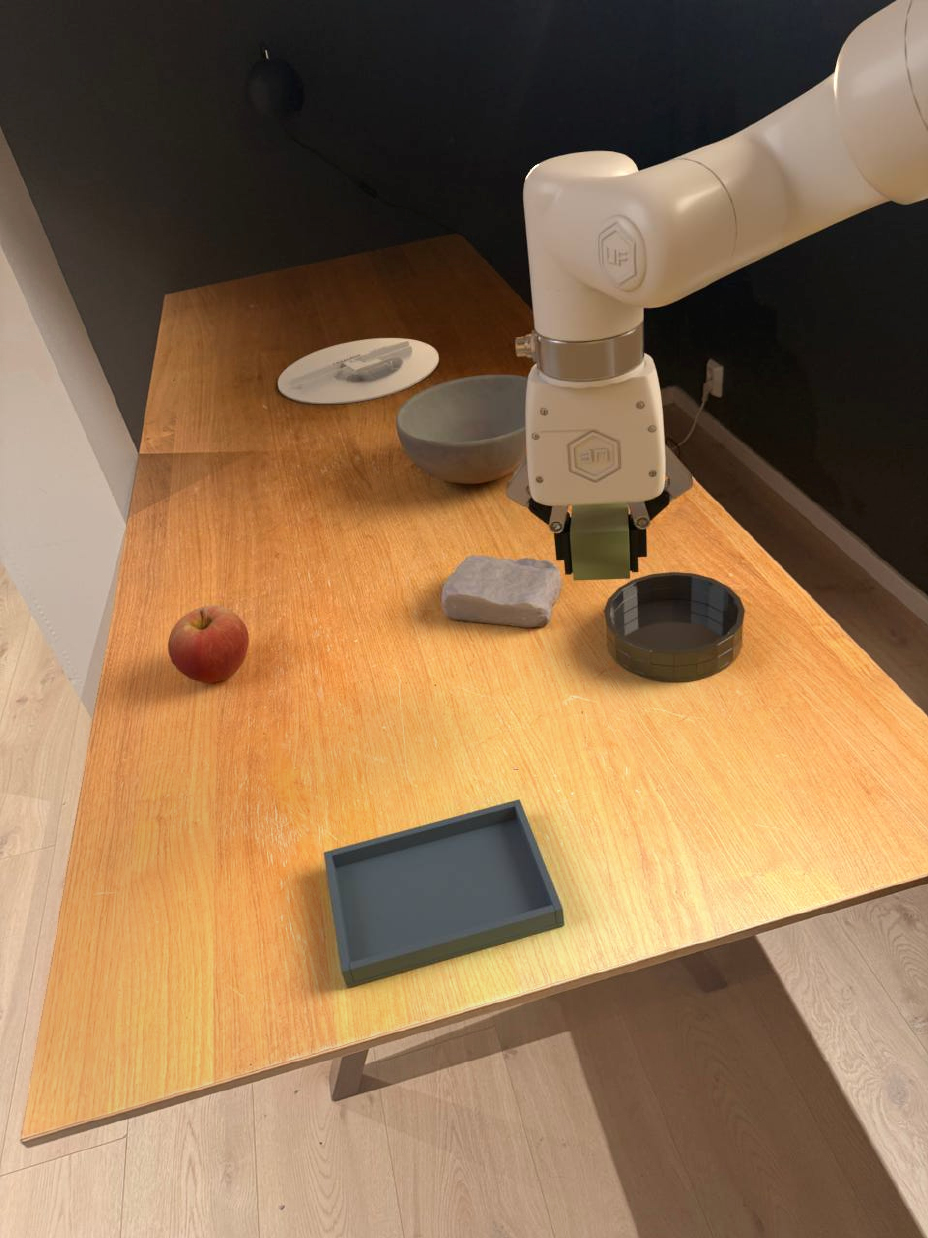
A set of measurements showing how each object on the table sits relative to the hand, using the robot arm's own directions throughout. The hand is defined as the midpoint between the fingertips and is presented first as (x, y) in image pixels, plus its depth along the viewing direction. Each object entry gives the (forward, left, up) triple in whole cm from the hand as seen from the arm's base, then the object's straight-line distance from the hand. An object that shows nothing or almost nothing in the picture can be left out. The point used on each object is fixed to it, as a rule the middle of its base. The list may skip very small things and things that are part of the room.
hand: (601, 562), depth 77 cm
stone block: (+18, -10, -16) cm, 27 cm away
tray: (+1, +24, -16) cm, 29 cm away
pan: (0, -12, -16) cm, 20 cm away
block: (0, 0, 0) cm, 0 cm away
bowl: (+38, -33, -16) cm, 53 cm away
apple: (+38, +14, -16) cm, 44 cm away
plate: (+80, -55, -16) cm, 99 cm away
